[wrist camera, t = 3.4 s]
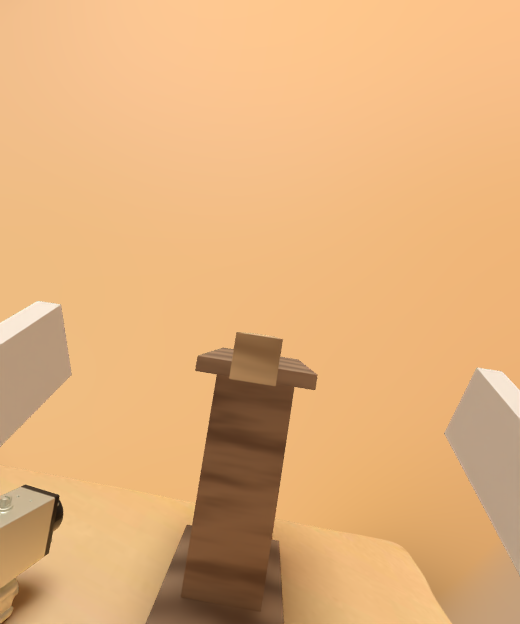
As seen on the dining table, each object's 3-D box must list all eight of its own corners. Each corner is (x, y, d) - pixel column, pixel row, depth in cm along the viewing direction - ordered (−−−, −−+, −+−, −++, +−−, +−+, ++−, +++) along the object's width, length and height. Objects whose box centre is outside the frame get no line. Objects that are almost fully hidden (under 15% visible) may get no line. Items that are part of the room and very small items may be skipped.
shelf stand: (283, 681, 32) (327, 376, 33) (137, 654, 32) (187, 354, 34) (277, 546, 51) (304, 360, 53) (186, 531, 52) (216, 346, 54)
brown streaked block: (275, 386, 21) (282, 339, 22) (229, 378, 22) (236, 332, 22) (270, 356, 51) (273, 336, 52) (250, 352, 51) (253, 333, 52)
